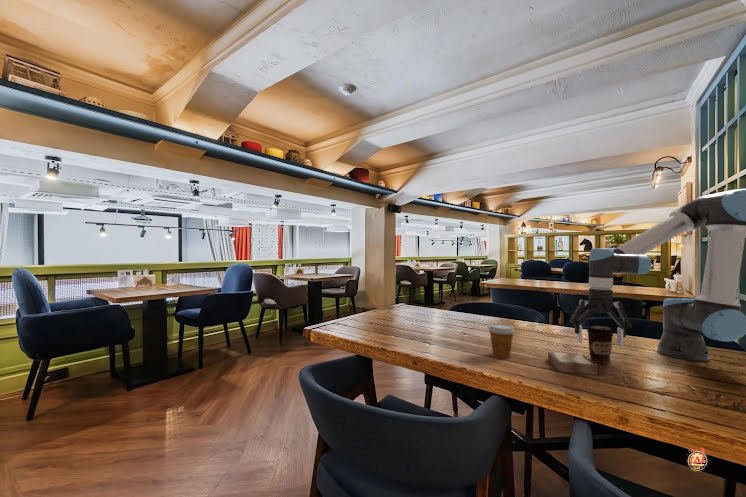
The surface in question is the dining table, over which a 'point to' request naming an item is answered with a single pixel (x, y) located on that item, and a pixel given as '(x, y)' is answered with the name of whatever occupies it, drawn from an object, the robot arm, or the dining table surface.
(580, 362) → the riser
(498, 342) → the disposable coffee cup
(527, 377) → the dining table surface
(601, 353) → the coffee cup
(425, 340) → the dining table surface
